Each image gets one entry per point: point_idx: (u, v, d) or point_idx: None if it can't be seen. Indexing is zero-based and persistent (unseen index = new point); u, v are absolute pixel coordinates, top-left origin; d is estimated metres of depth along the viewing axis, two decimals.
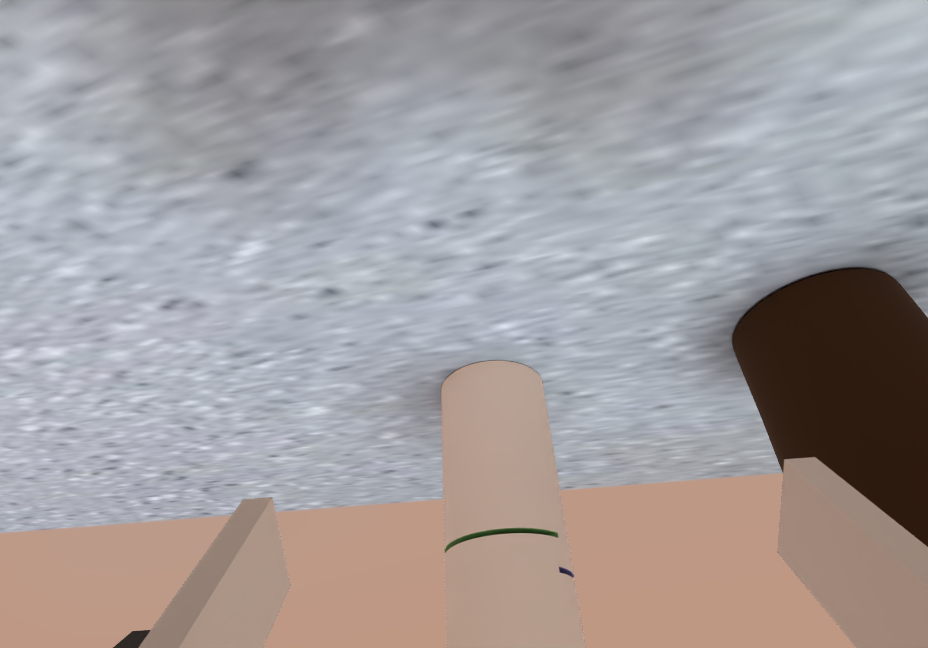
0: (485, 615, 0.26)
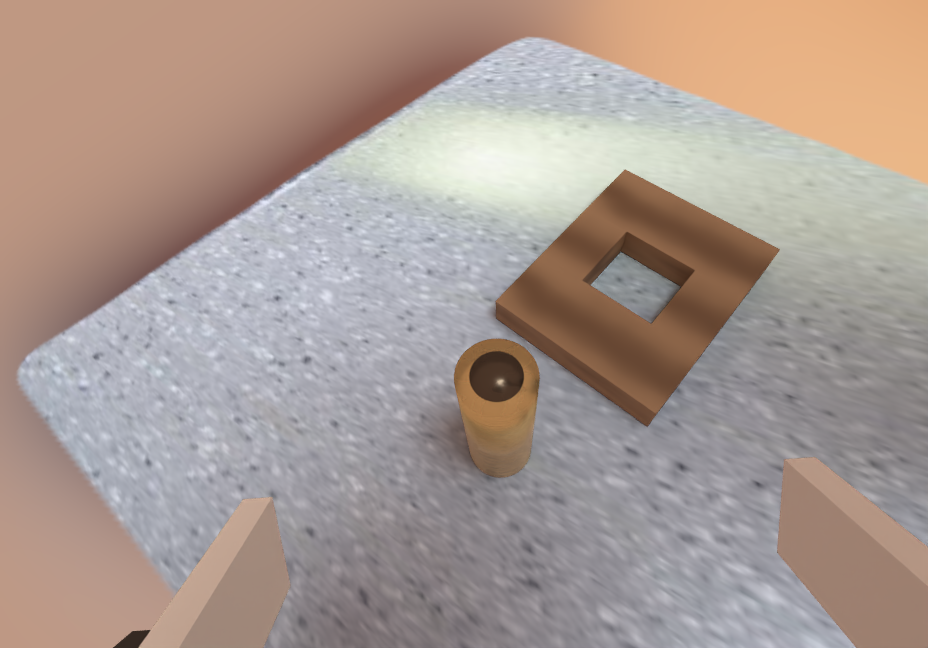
0: None
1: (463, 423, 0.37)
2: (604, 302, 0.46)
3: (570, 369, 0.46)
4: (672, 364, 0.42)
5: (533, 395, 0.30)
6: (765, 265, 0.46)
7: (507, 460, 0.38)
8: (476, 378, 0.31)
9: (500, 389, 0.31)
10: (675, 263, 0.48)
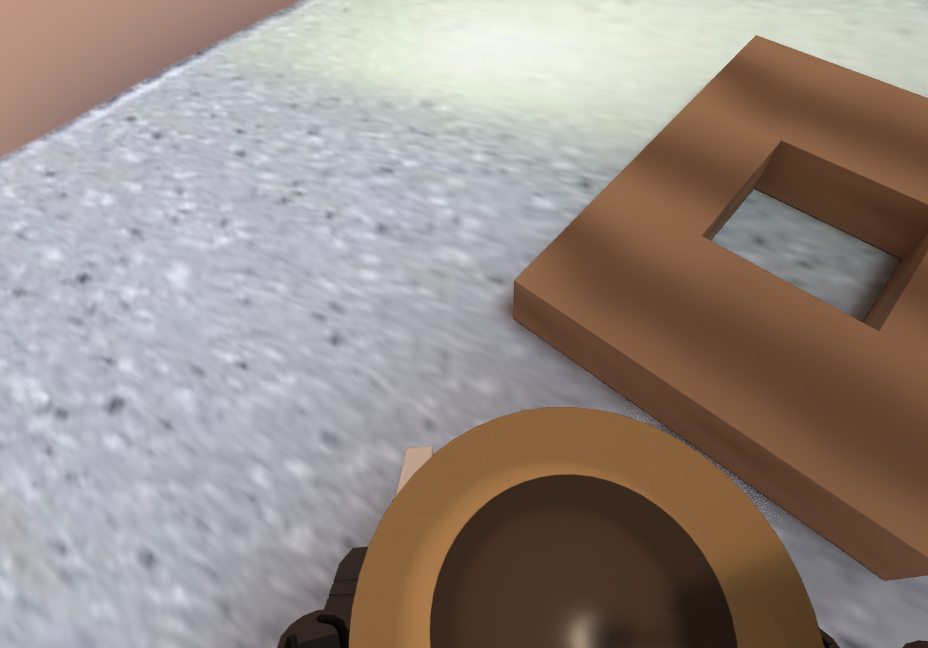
0: None
1: None
2: (759, 282, 0.20)
3: (683, 433, 0.20)
4: None
5: None
6: None
7: None
8: (466, 638, 0.06)
9: None
10: (895, 202, 0.23)
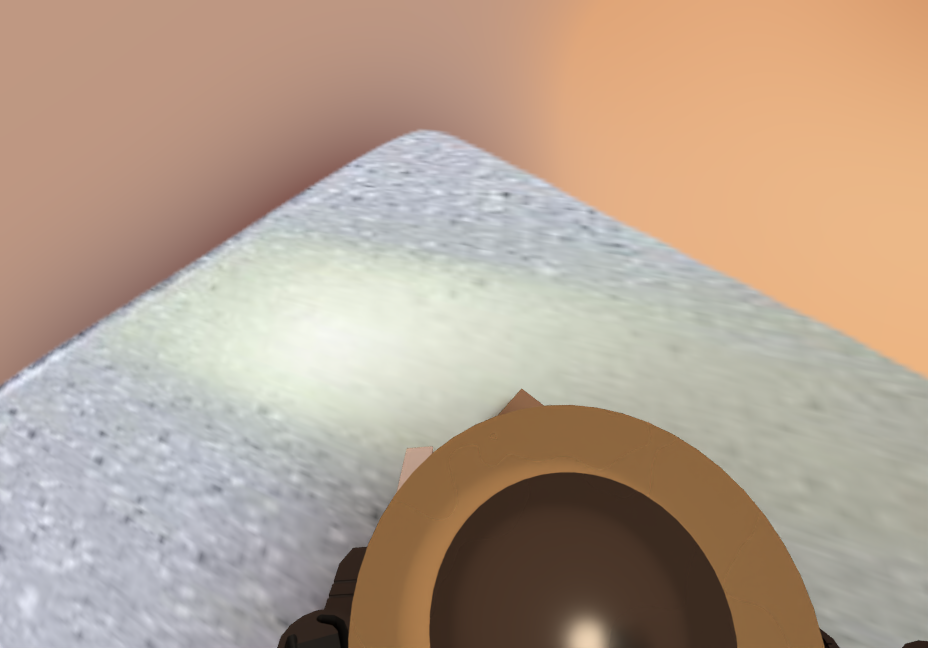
0: None
1: None
2: None
3: None
4: None
5: None
6: None
7: None
8: (466, 636, 0.06)
9: None
10: None
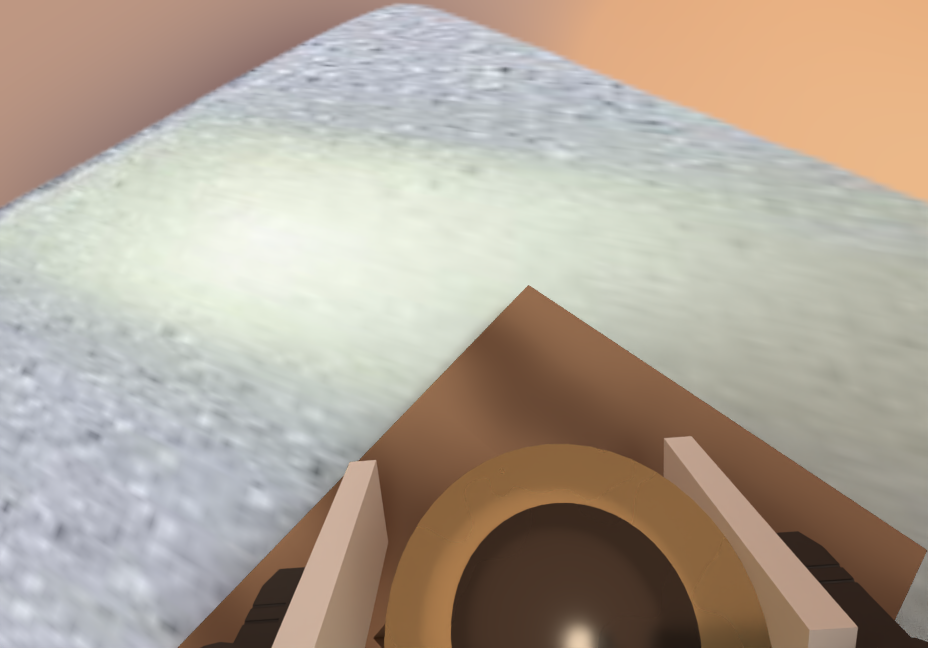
0: None
1: None
2: None
3: None
4: None
5: None
6: (892, 609, 0.16)
7: None
8: (481, 640, 0.07)
9: None
10: None
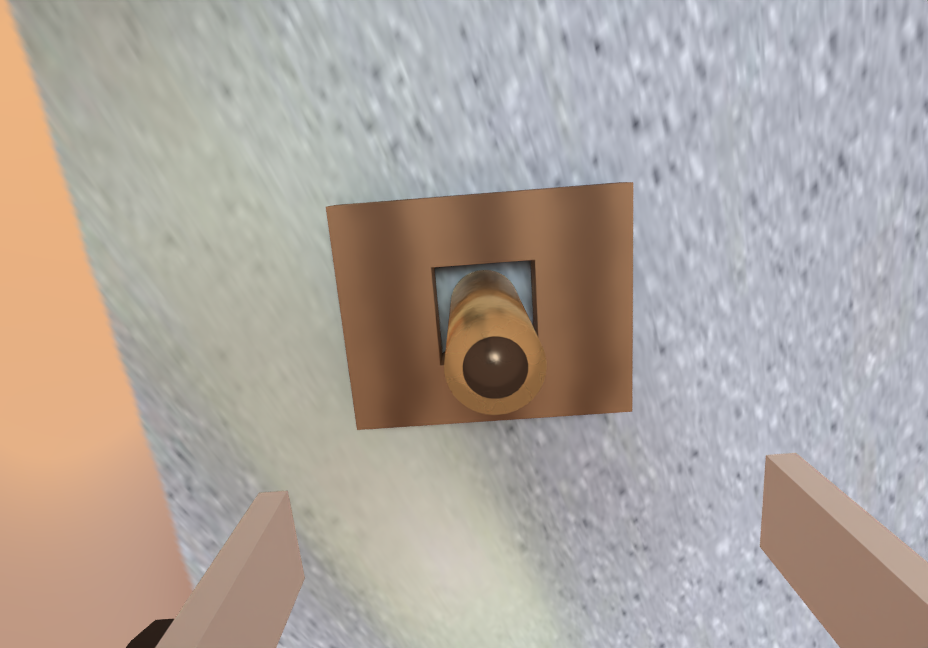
0: None
1: None
2: (547, 319, 0.37)
3: None
4: (565, 207, 0.35)
5: (482, 321, 0.25)
6: (361, 206, 0.35)
7: (507, 287, 0.34)
8: (514, 382, 0.26)
9: (505, 353, 0.26)
10: (433, 291, 0.37)
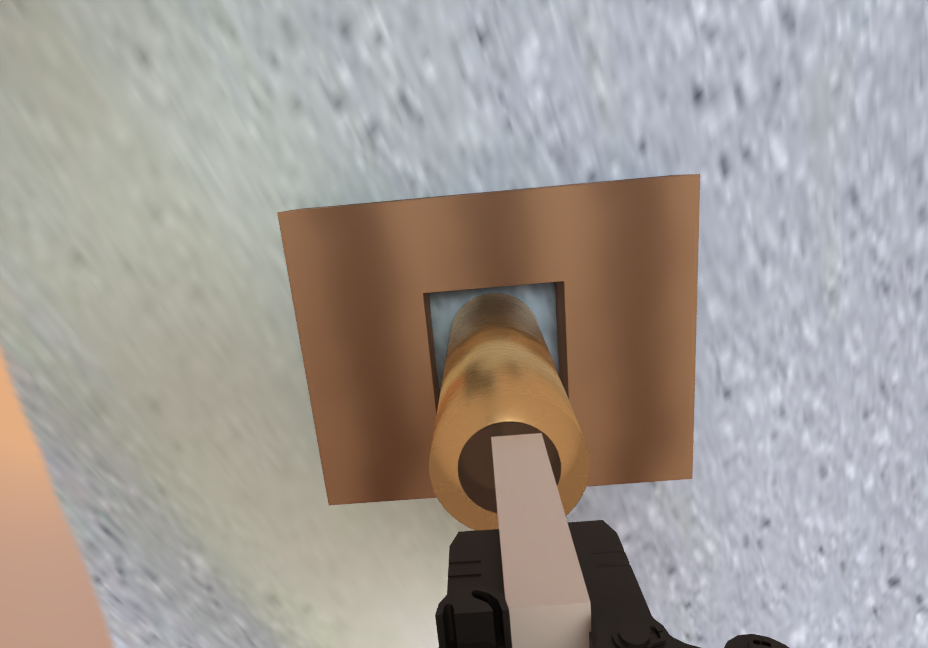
0: None
1: None
2: (580, 360, 0.27)
3: None
4: (605, 209, 0.25)
5: (487, 399, 0.16)
6: (326, 211, 0.25)
7: (525, 322, 0.25)
8: None
9: None
10: (427, 324, 0.27)
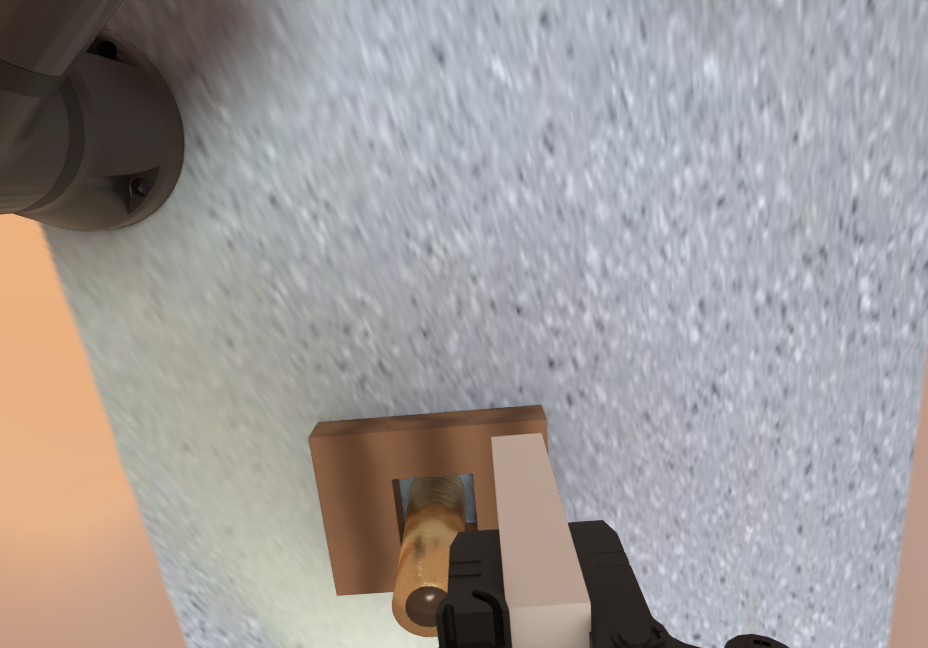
0: None
1: None
2: (484, 515, 0.47)
3: None
4: None
5: (417, 577, 0.35)
6: (336, 437, 0.45)
7: (449, 499, 0.44)
8: None
9: (435, 597, 0.36)
10: (394, 494, 0.47)
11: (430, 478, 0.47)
